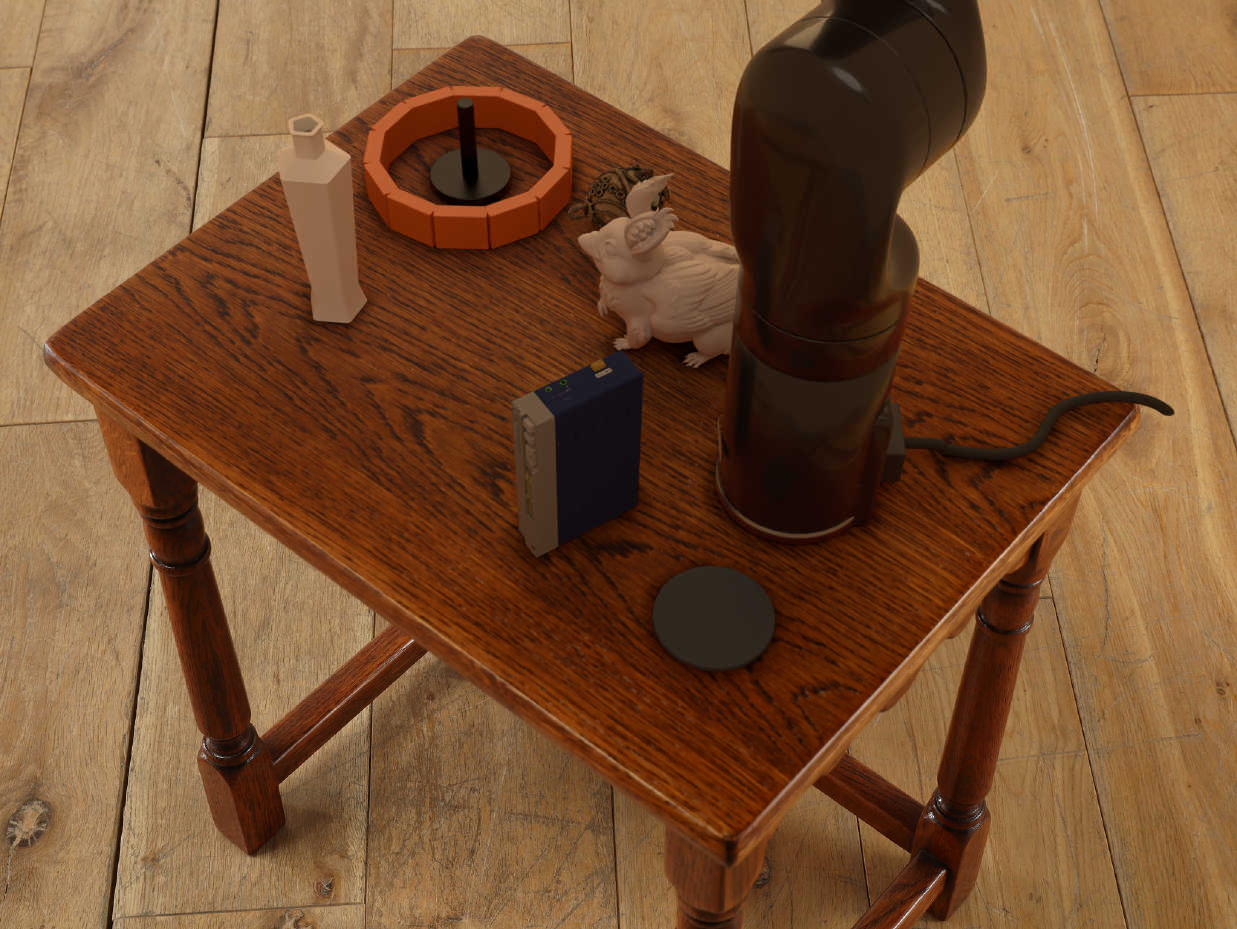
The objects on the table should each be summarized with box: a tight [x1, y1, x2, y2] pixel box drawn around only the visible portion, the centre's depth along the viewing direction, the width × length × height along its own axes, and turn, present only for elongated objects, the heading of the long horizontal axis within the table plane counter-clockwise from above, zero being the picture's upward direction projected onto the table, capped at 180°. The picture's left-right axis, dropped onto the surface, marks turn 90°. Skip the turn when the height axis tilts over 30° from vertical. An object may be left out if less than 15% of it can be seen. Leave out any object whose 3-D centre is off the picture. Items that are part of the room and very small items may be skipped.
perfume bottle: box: [276, 113, 368, 324], centre depth 95 cm, size 5×4×15 cm
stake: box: [428, 98, 513, 206], centre depth 106 cm, size 6×6×7 cm
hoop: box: [362, 85, 573, 250], centre depth 108 cm, size 15×15×3 cm
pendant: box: [567, 162, 672, 231], centre depth 104 cm, size 5×8×5 cm, turn 113°
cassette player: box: [510, 349, 644, 559], centre depth 85 cm, size 7×2×12 cm, turn 124°
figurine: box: [577, 172, 740, 369], centre depth 94 cm, size 8×15×13 cm, turn 95°
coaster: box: [652, 565, 776, 673], centre depth 85 cm, size 7×7×1 cm
